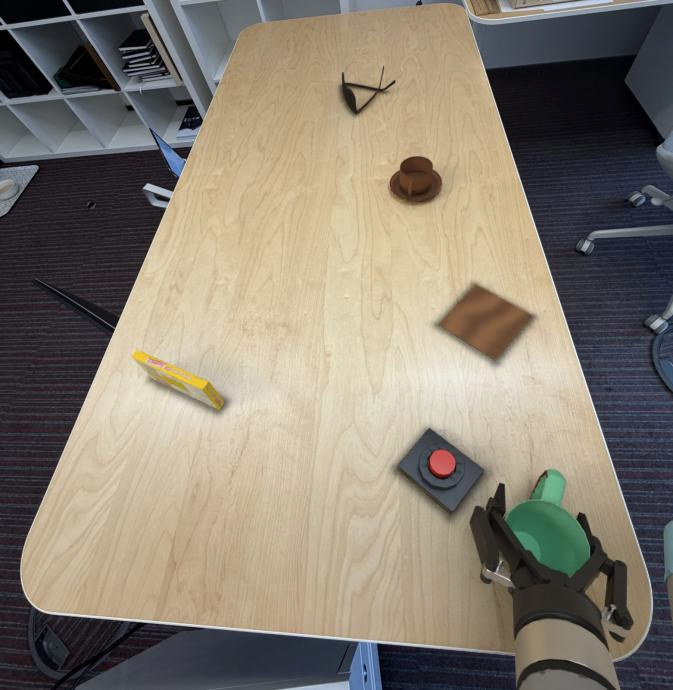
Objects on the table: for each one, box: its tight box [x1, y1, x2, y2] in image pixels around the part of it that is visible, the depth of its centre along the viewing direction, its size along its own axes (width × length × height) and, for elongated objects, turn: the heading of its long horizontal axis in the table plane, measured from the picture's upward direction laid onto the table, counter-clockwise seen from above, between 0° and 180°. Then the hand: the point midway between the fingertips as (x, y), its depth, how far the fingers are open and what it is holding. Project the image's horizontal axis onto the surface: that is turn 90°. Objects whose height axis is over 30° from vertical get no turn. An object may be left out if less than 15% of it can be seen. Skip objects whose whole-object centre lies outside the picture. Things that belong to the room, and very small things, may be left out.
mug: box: [504, 468, 590, 578], centre depth 54 cm, size 15×10×10 cm
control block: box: [397, 427, 485, 515], centre depth 62 cm, size 10×8×4 cm
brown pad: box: [438, 284, 533, 361], centre depth 76 cm, size 12×12×1 cm
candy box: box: [130, 349, 225, 411], centre depth 73 cm, size 16×2×8 cm, turn 64°
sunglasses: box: [341, 65, 397, 114], centre depth 119 cm, size 17×14×5 cm
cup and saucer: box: [389, 155, 443, 203], centre depth 95 cm, size 12×12×6 cm
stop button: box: [429, 450, 456, 477], centre depth 60 cm, size 4×4×2 cm
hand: (537, 505), depth 56 cm, fingers closed on mug, 9 cm apart
